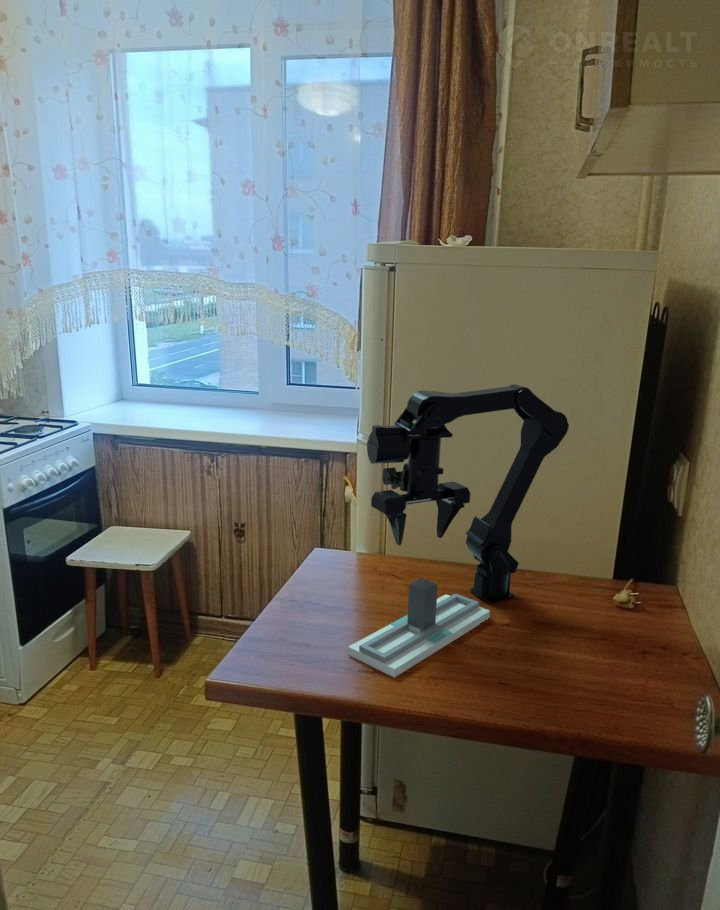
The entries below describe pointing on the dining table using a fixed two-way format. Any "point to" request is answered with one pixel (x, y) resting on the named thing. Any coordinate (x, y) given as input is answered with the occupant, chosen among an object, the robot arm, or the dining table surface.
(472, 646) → the dining table surface
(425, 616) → the fader
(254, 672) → the dining table surface
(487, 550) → the robot arm
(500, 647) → the dining table surface
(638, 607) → the dining table surface
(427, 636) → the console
